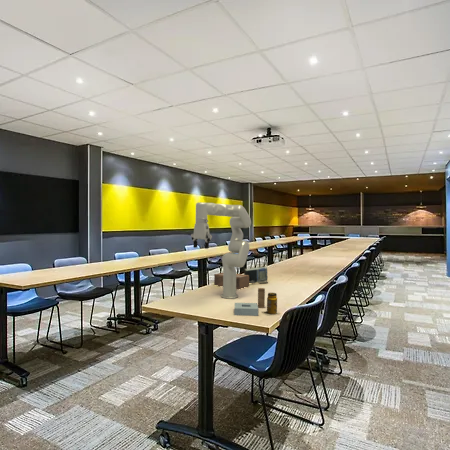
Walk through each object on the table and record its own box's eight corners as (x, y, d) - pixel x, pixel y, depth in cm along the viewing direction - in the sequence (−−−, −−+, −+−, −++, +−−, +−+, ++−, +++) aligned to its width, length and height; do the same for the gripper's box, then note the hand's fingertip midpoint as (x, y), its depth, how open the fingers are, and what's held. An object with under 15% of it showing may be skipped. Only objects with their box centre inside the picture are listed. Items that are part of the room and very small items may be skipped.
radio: (243, 284, 293) (243, 267, 293) (241, 283, 301) (241, 266, 301) (269, 284, 298) (269, 267, 298) (265, 282, 307) (265, 265, 306)
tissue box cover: (214, 286, 287) (214, 274, 287) (224, 283, 298) (224, 272, 298) (239, 289, 272) (239, 277, 272) (248, 287, 283) (249, 275, 283)
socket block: (234, 308, 211) (234, 302, 211) (257, 309, 210) (257, 303, 210) (234, 315, 197) (234, 308, 197) (258, 315, 196) (258, 308, 196)
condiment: (279, 314, 201) (280, 294, 201) (267, 315, 197) (267, 295, 197) (273, 311, 207) (273, 291, 207) (261, 312, 204) (261, 292, 204)
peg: (257, 306, 218) (258, 287, 218) (264, 306, 218) (264, 288, 218) (258, 307, 214) (258, 289, 214) (264, 308, 214) (264, 289, 214)
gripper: (215, 221, 216) (215, 248, 216) (195, 221, 226) (194, 247, 226) (208, 221, 210) (207, 249, 210) (187, 221, 220) (187, 247, 220)
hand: (201, 248), depth 218 cm, fingers open, 9 cm apart
